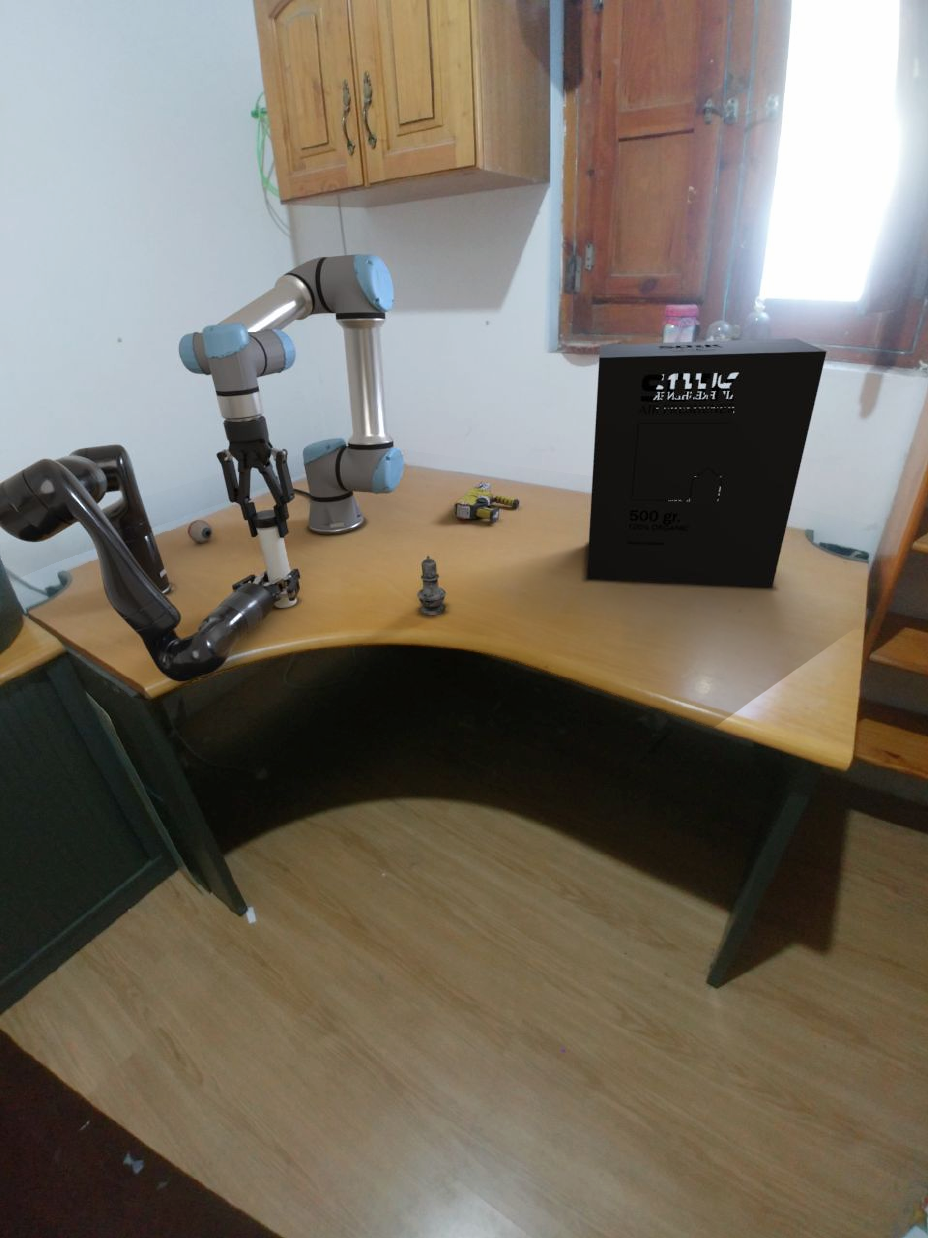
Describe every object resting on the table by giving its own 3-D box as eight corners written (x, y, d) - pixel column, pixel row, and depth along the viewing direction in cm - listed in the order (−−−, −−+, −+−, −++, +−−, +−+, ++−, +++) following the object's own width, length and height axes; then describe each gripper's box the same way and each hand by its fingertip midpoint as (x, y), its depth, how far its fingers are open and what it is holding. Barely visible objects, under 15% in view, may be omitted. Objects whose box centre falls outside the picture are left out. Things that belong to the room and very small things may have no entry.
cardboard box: (752, 548, 142) (795, 338, 119) (772, 587, 124) (826, 351, 102) (589, 543, 149) (600, 344, 127) (586, 579, 132) (599, 357, 110)
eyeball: (201, 547, 160) (195, 526, 157) (186, 543, 163) (180, 522, 160) (220, 539, 164) (214, 518, 161) (205, 536, 167) (199, 515, 164)
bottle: (287, 595, 133) (268, 512, 124) (301, 600, 131) (283, 516, 121) (269, 604, 130) (249, 519, 120) (284, 610, 127) (264, 523, 118)
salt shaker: (443, 616, 121) (439, 562, 115) (415, 615, 122) (409, 561, 116) (449, 602, 126) (446, 549, 120) (422, 601, 127) (417, 548, 121)
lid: (247, 525, 121) (245, 516, 120) (270, 516, 125) (268, 507, 124) (265, 530, 118) (262, 521, 117) (287, 521, 122) (285, 512, 121)
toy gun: (527, 487, 180) (480, 479, 184) (505, 511, 160) (452, 502, 164) (526, 502, 182) (479, 494, 186) (504, 527, 162) (452, 519, 166)
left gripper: (273, 595, 112) (313, 557, 126) (205, 590, 115) (252, 554, 129) (281, 629, 116) (319, 589, 130) (215, 624, 119) (260, 585, 133)
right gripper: (298, 411, 112) (320, 528, 124) (208, 413, 116) (237, 527, 127) (281, 420, 106) (305, 543, 118) (186, 422, 109) (219, 541, 121)
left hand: (285, 571), depth 129 cm, fingers closed on bottle, 4 cm apart
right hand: (270, 534), depth 122 cm, fingers closed on lid, 5 cm apart
